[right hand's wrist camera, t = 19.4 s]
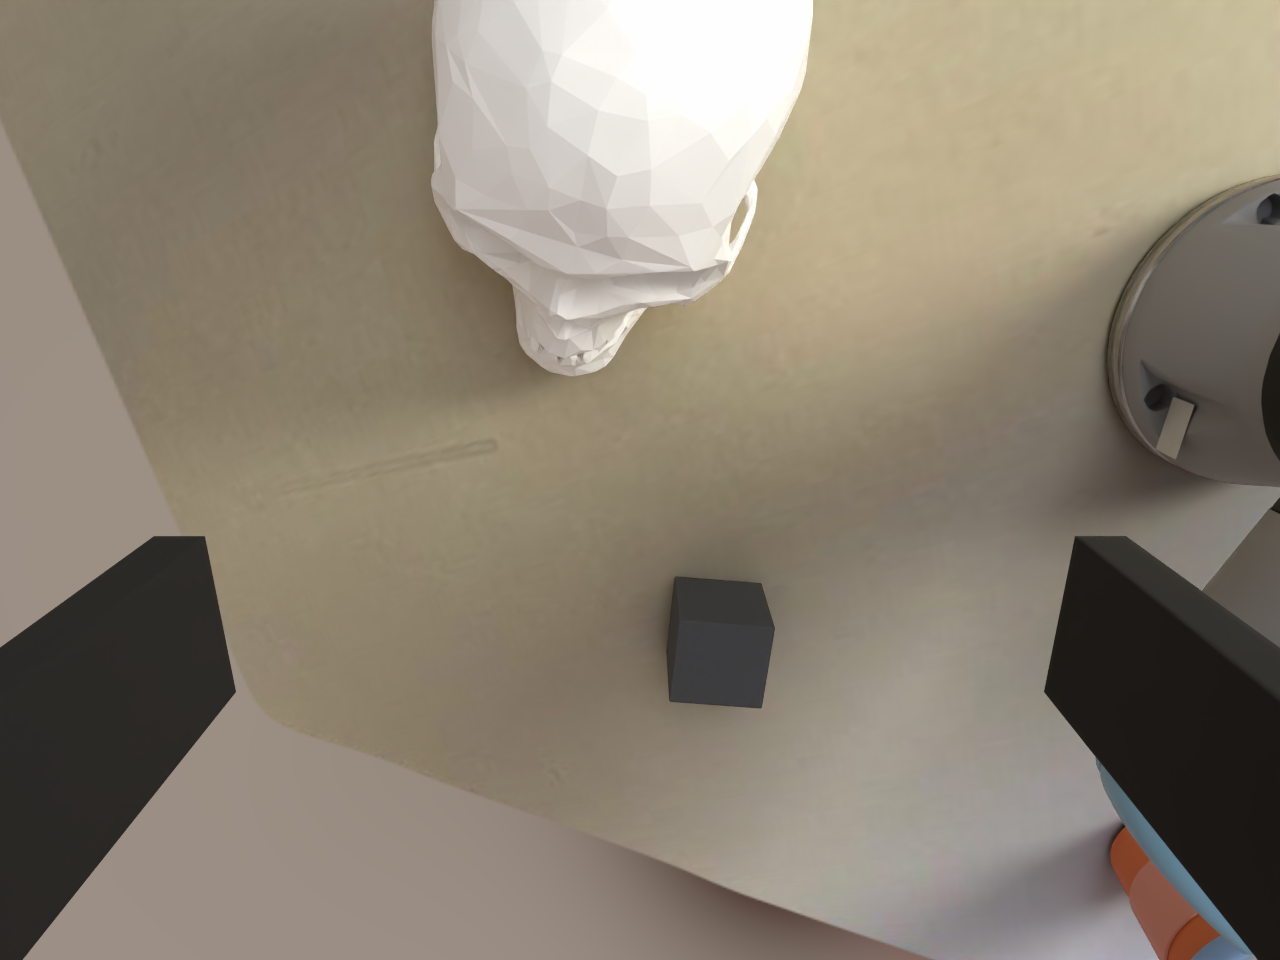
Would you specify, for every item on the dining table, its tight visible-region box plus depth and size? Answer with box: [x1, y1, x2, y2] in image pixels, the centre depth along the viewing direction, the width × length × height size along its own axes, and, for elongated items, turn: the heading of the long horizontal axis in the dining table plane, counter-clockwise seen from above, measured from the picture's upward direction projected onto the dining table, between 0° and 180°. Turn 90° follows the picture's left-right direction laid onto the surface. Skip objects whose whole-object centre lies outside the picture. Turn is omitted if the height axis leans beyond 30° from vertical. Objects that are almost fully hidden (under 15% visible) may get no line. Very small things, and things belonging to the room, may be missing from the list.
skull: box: [431, 0, 813, 377], centre depth 31 cm, size 13×22×16 cm, turn 170°
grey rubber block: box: [666, 577, 775, 708], centre depth 45 cm, size 5×5×5 cm
